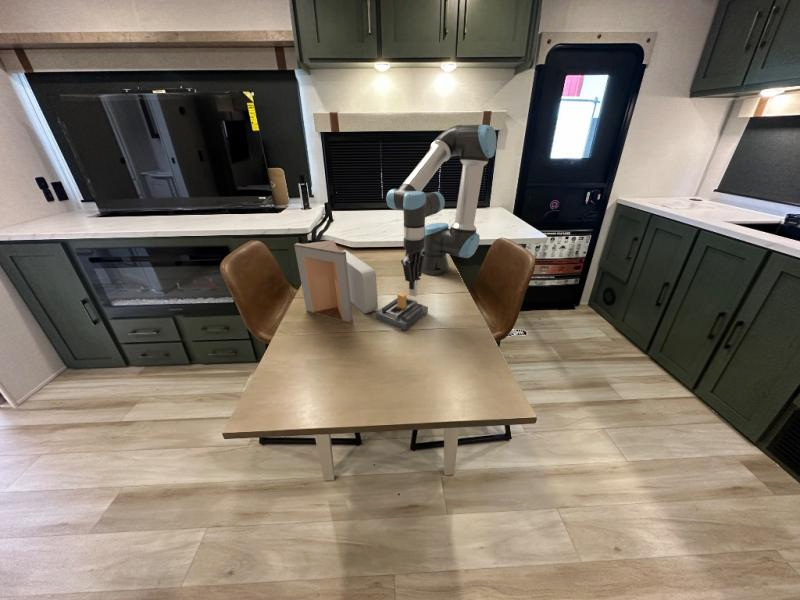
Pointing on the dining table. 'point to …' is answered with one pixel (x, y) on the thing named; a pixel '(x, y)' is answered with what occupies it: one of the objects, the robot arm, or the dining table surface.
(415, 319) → the frame
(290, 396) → the dining table surface
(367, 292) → the rounded white slab
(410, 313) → the grey slider track plate
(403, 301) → the breaker lever
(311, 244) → the cabinet
